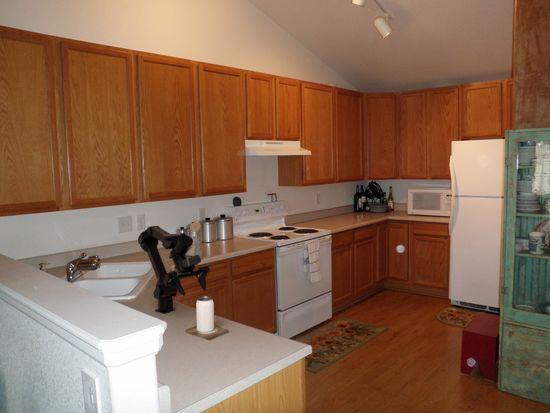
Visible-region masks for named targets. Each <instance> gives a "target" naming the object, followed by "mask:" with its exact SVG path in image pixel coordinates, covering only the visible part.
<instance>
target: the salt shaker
mask: <svg viewBox="0 0 550 413" xmlns="http://www.w3.org/2000/svg"><path fill="white" fill-rule="evenodd" d="M201 244H202V243H201V241H200V240H196V242H195V251H194V256H195V255H199V256H200V258H201V260H202V259H203V251H202V248H201ZM201 251H202V252H201Z"/></svg>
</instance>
